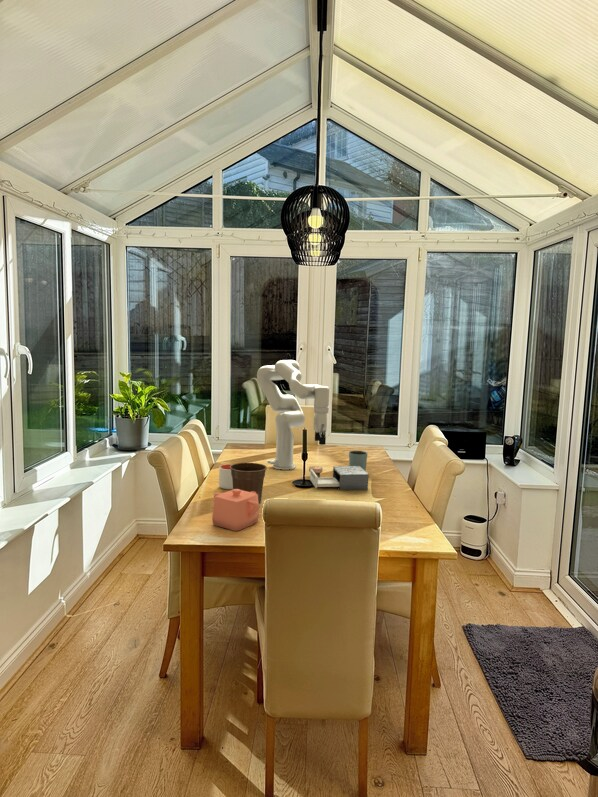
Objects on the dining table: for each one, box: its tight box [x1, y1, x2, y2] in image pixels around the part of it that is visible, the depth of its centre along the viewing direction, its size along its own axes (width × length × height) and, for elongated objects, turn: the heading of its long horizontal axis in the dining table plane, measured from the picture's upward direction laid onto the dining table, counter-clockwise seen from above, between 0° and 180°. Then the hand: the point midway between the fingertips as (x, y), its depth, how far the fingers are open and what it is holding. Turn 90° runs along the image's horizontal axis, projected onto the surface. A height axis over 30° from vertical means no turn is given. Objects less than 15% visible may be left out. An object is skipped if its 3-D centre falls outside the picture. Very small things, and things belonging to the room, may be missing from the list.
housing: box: [332, 465, 370, 491], centre depth 273 cm, size 14×16×8 cm
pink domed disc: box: [308, 465, 324, 474], centre depth 283 cm, size 7×7×2 cm
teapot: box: [211, 489, 260, 532], centre depth 216 cm, size 20×22×14 cm
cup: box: [218, 464, 233, 490], centre depth 263 cm, size 10×10×10 cm
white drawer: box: [309, 469, 340, 489], centre depth 271 cm, size 13×15×6 cm
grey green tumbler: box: [348, 450, 368, 472], centre depth 296 cm, size 10×10×12 cm
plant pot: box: [230, 462, 268, 505], centre depth 241 cm, size 16×16×16 cm
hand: (319, 442), depth 283 cm, fingers open, 9 cm apart
